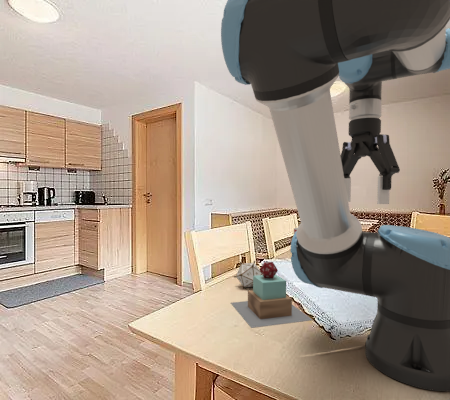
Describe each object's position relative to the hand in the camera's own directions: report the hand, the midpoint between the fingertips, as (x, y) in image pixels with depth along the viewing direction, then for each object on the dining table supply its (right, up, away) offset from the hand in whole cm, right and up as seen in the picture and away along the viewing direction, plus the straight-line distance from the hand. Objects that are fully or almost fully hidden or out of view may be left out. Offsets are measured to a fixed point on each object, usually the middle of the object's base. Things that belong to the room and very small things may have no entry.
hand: (362, 202), depth 79 cm
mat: (-25, -27, -4) cm, 37 cm away
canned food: (0, -25, +63) cm, 68 cm away
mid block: (-25, -22, -4) cm, 34 cm away
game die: (-28, -26, +15) cm, 41 cm away
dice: (-25, -19, -4) cm, 31 cm away
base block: (-25, -26, -4) cm, 36 cm away
